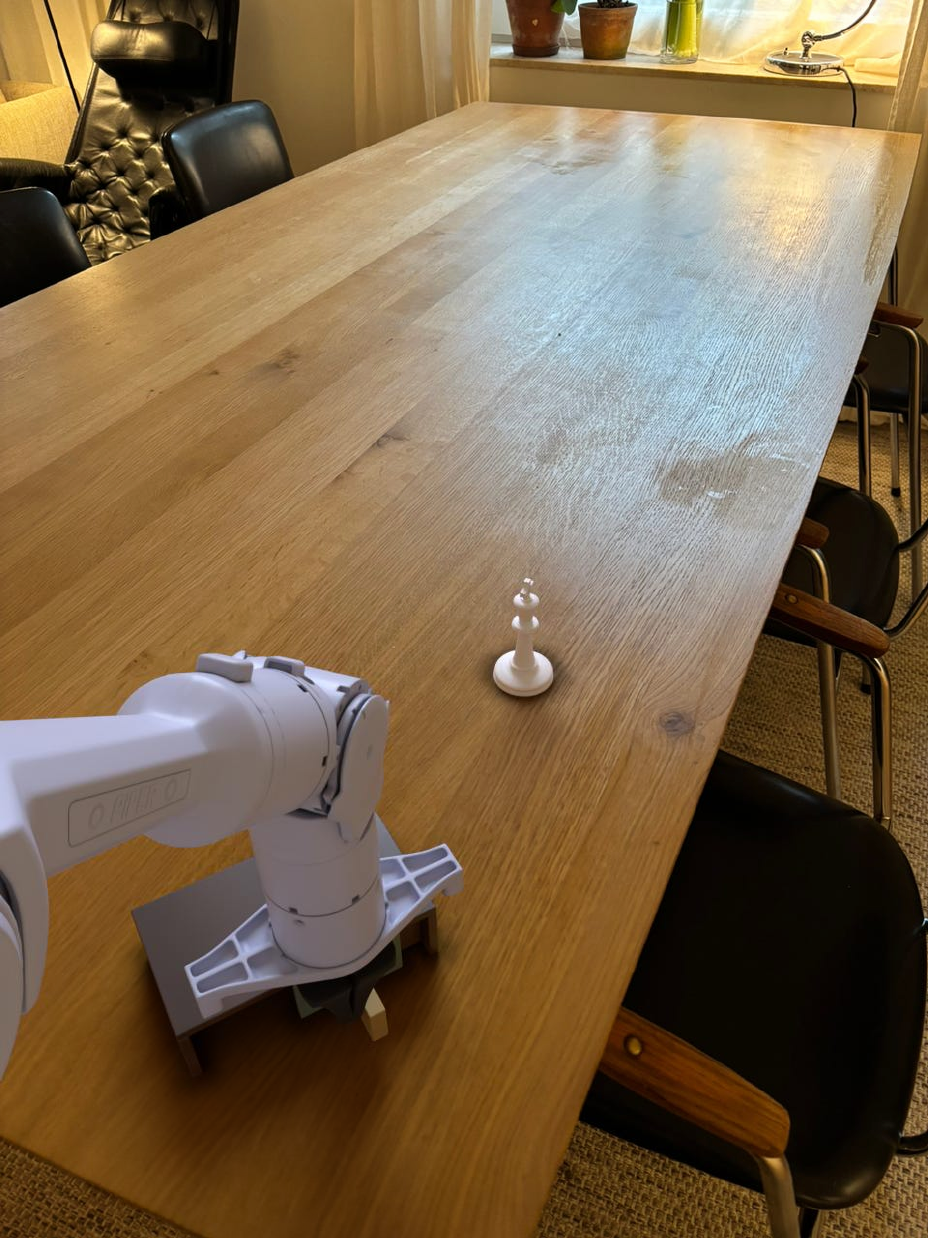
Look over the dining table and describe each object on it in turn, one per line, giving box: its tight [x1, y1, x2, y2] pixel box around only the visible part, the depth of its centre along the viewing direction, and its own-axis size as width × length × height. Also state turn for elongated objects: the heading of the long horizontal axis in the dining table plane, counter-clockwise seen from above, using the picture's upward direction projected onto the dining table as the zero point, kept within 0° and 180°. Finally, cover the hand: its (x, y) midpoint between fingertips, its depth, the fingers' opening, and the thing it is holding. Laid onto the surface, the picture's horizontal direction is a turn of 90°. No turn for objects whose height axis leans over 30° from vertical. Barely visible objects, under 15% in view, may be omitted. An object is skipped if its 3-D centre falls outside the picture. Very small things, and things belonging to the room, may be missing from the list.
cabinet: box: [130, 810, 439, 1079], centre depth 61 cm, size 16×9×5 cm, turn 120°
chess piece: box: [492, 577, 554, 697], centre depth 78 cm, size 5×5×10 cm
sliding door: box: [291, 932, 403, 1042], centre depth 58 cm, size 7×5×4 cm
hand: (345, 1007), depth 56 cm, fingers closed
